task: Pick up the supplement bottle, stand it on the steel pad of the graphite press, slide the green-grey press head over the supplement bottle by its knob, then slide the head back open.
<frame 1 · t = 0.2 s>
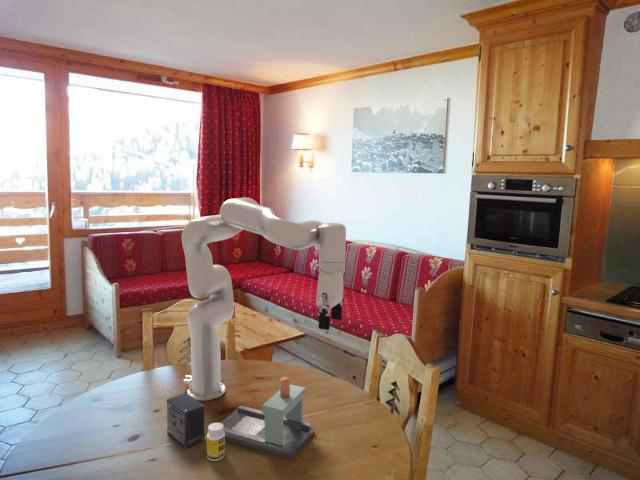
hand: (330, 324, 134), 31 cm above the table, tool pointing down, fingers open, 9 cm apart
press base: (262, 434, 132), on the table
supplement bottle: (216, 456, 122), on the table
small box: (186, 437, 131), on the table
press head: (284, 404, 128), point 11 cm above the table, slide at 0.0 cm
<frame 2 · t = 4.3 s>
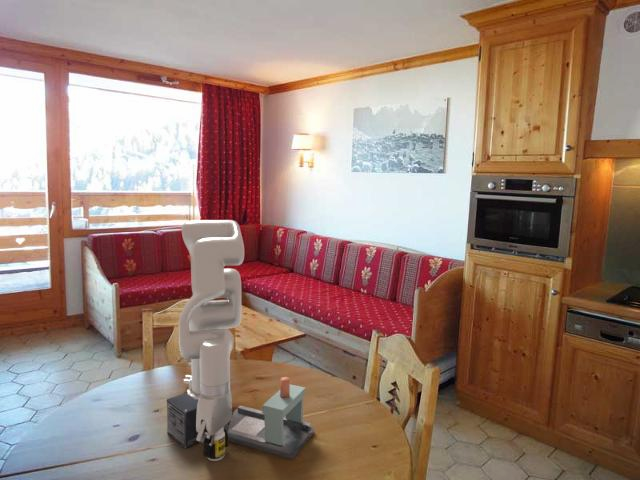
hand: (216, 451, 122), 1 cm above the table, tool pointing down, fingers closed on supplement bottle, 4 cm apart
supplement bottle: (216, 456, 122), on the table, touching gripper
everything else where it was.
when the fingers open (4 cm above the table, at t = 9.8 s): supplement bottle drops 1 cm, resting on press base.
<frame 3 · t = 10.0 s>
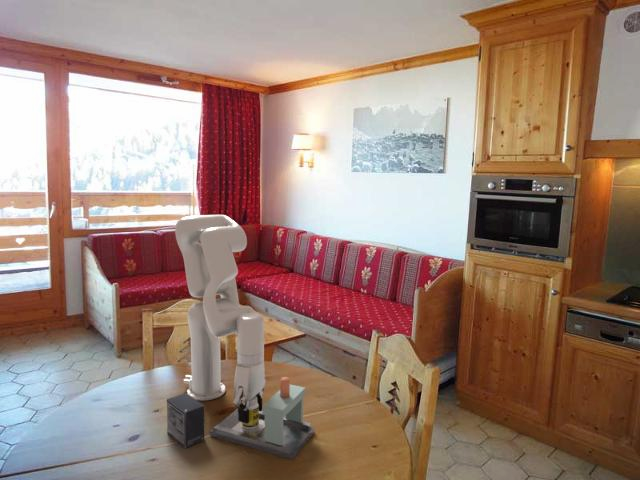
hand: (250, 415, 133), 5 cm above the table, tool pointing down, fingers open, 6 cm apart
supplement bottle: (250, 425, 134), point 2 cm above the table, touching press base
everything else where it was.
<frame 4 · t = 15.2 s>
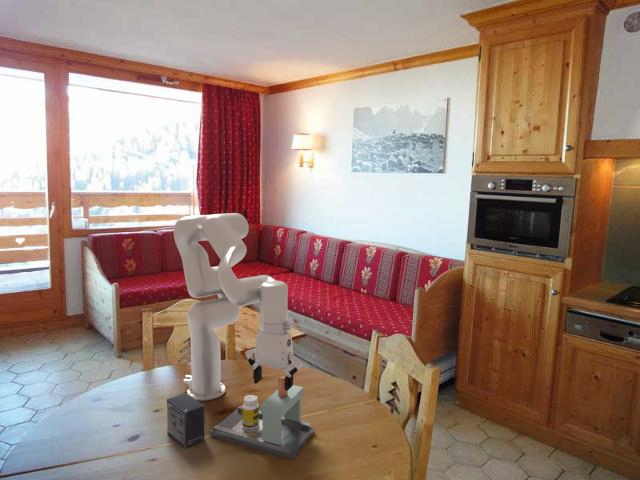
hand: (273, 385, 129), 16 cm above the table, tool pointing down, fingers open, 9 cm apart
press head: (282, 404, 128), point 11 cm above the table, slide at 0.6 cm, touching gripper
everything else where it was.
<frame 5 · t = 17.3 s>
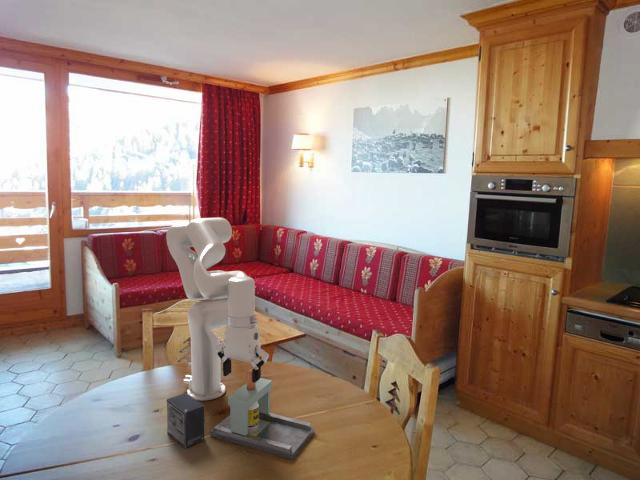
hand: (241, 377, 133), 16 cm above the table, tool pointing down, fingers open, 9 cm apart
press head: (251, 396, 132), point 11 cm above the table, slide at 10.9 cm, touching gripper
everything else where it was.
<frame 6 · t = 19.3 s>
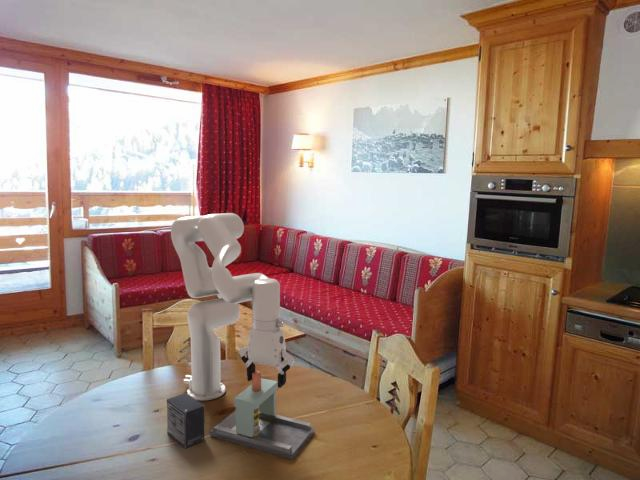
hand: (266, 382, 129), 16 cm above the table, tool pointing down, fingers open, 9 cm apart
press head: (256, 398, 132), point 11 cm above the table, slide at 9.0 cm, touching gripper
everything else where it was.
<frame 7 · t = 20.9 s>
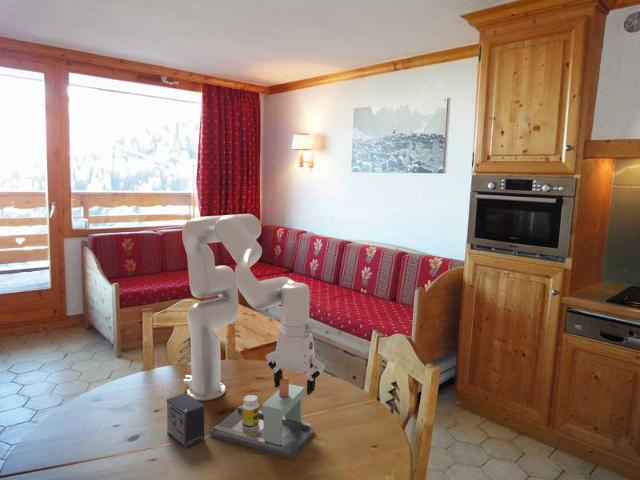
hand: (294, 389, 126), 16 cm above the table, tool pointing down, fingers open, 9 cm apart
press head: (283, 404, 128), point 11 cm above the table, slide at 0.3 cm, touching gripper
everything else where it was.
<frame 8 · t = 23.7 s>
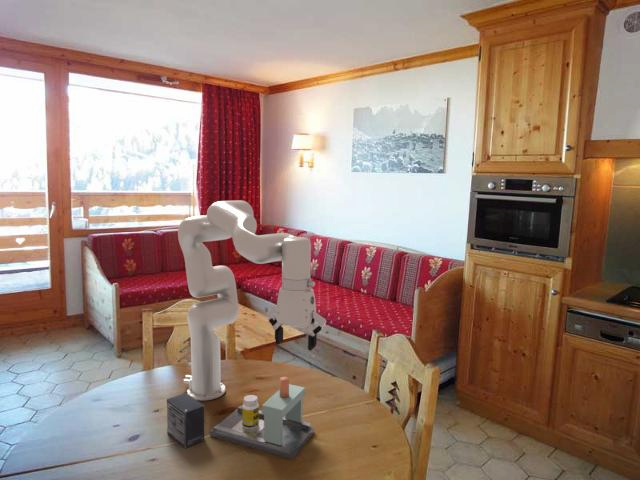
hand: (295, 345, 124), 28 cm above the table, tool pointing down, fingers open, 9 cm apart
press head: (284, 404, 128), point 11 cm above the table, slide at 0.2 cm
everything else where it was.
at the end: supplement bottle 0.2 cm from the target spot on the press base, point 1.5 cm above the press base's base; supplement bottle tilted 0°; press head slide at 0.2 cm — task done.
